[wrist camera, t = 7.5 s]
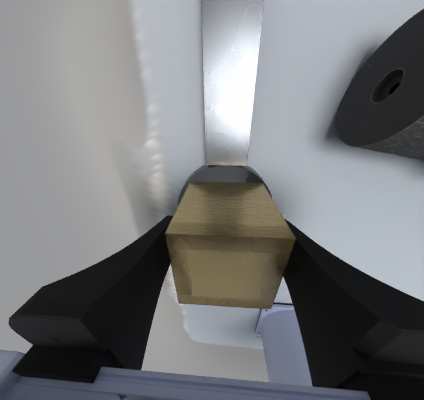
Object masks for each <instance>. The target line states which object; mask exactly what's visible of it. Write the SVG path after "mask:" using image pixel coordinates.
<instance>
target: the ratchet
mask: <svg viewBox="0 0 424 400" xmlns="http://www.w3.org/2000/svg"><path fill="white" fill-rule="evenodd" d="M263 6H264V0H202V32H203V71H204V109H205V148H206V165H204V166H202V167H201V168H199V169H198V170H196V171H195V172H194V173H193V174H192V175H191V176H190V177H189V179H188V180H187V182H186V184H185V186H184V187H183V189H182V191H181V194H180V196H179V200H178V206H179V204H180V202H181V200H182V198H183V196H184V194H185V192H186V190H187V188H188V186H189V184H190V182H191V181H195V182H241V183H263V184H264V186H265V188H266V189H267V191H268V193H269V195H270V196H271V193H270V191H269V189H268V187H267V186H266V184H265V183H264V181H263V179H262V178H261V177H260V175H259V174H258V173H257V172H256V171H254V170H253V169H252V168H250V167H248V166H247V158H248V148H249V139H250V129H251V120H252V110H253V101H254V91H255V82H256V72H257V63H258V53H259V44H260V34H261V25H262V15H263ZM271 198H272V196H271Z"/></svg>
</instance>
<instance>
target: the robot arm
mask: <svg viewBox="0 0 424 400" xmlns="http://www.w3.org/2000/svg"><path fill="white" fill-rule="evenodd" d="M172 218H173V216H166V217H165V218H164V219H163V220H161V221H160V222H159V223H158V224H157V225H155V226H154V227H153V228H152V229H150V230H149V231H148V232H147V233H145V234H144V235H143V236H141V237H140V238H138V239H137V240H136V241H134V242H133V243H132V244H130V245H129V246H127V247H125V248H124V249H122V250H121V251H119V252H117V253H115V254H113V255H112V256H110V257H108V258H106V259H104V260H102V261H101V262H99V263H97V264H95V265H92V266H90V267H88V268H86V269H84V270H82V271H80V272H77V273H75V274H73V275H71V276H68V277H66V278H63V279H61V280H58V281H56V282H53V283H51V284H48V285H46V286H43V287H42V288H41V289H40V290H39V291H37V292H36V293H35V294H34V296H32V297H31V298H30V299H29V300H28V301H27V302H26V303H25V304H24V305H23V306H22V307H21V308H19V309H18V310H17V311H16V312H15V313H14V314H13V315H12V316H11V317H10V318H9V325H10V327H11V329H13V330H14V331H15V332H16V333H17V334H19V335H20V336H22V337H23V338H24V339H26V340H27V341H28V342H30V343H31V344H33V346H32V347H31V348H30V350H29V351H28V352H27V353H26V354H24V353H21V352H17V351H7V350H0V400H424V301H422V300H419V299H417V298H415V297H412V296H410V295H408V294H406V293H404V292H401V291H399V290H397V289H395V288H393V287H391V286H389V285H387V284H385V283H383V282H381V281H379V280H377V279H375V278H373V277H371V276H369V275H367V274H365V273H364V272H362V271H360V270H358V269H356V268H354V267H353V266H351V265H349V264H348V263H346V262H344V261H343V260H341V259H339V258H338V257H336V256H335V255H333V254H331V253H330V252H328V251H327V250H326V249H324V248H323V247H321V246H320V245H318V244H317V243H316V242H314V241H313V240H312V239H310V238H309V237H308V236H306V235H305V234H304V233H302V232H301V231H300V230H299V229H297V228H296V227H295V226H294V225H292V224H291V223H290V222H289V221H287V220H286V219H284V220H285V221H286V223H287V225H288V226H289V228H290V230H291V231H292V233H293V235H294V236H295V238H296V240H295V242H294V245H293V248H292V251H291V254H290V257H289V260H288V263H287V265H286V268H285V271H284V274H283V277H284V279H285V282H286V284H287V287H288V290H289V293H290V296H291V299H292V303H293V305H280V304H273V306H272V308H271V309H262V310H261V314H260V317H259V321H258V324H257V328H256V331H255V336H257V337H262V342H263V348H264V354H265V359H266V364H267V371H268V376H269V382H270V383H269V382H258V381H248V380H237V379H226V378H215V377H205V376H195V375H184V374H173V373H162V372H152V371H141V368H142V363H143V359H144V354H145V350H146V345H147V341H148V337H149V333H150V329H151V325H152V320H153V316H154V313H155V309H156V305H157V301H158V298H159V294H160V291H161V288H162V284H163V281H164V279H165V276H166V273H167V271H168V268H169V266H170V263H171V261H170V256H169V251H168V246H167V241H166V236H165V232H166V230H167V228H168V226H169V224H170V222H171V220H172Z"/></svg>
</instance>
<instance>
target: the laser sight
mask: <svg viewBox="0 0 424 400" xmlns="http://www.w3.org/2000/svg"><path fill="white" fill-rule="evenodd" d="M336 128H337V134H338V136H339V138H340V140H341V141H342V142H343V143H345V144H346V145H349V146H353V147H359V148H365V149H370V150H374V151H380V152H384V153H391V154H396V155H399V156H404V157H409V158H416V159H422V160H424V9H423V10H421V11H420V12H418V13H417V14H416V15H414V16H413V17H412V18H410V19H409V20H408V21H406V22H405V23H404V24H403V25H402V26H401V27H399V28H398V29H397V30H396V31H395V32H394V33H393V34H392V35H391V36H389V37H388V38H387V39H386V40H385V41H384V42H383V44H382V45H381V46H380V47H379V48H378V49H377V50H376V51H375V52H374V53H373V55H372V56H371V57H370V58H369V59H368V61H367V62H366V63H365V64H364V66H363V67H362V68H361V70H360V71H359V73H358V74H357V75H356V77H355V79H354V80H353V82H352V83H351V85H350V87H349V89H348V90H347V92H346V94H345V96H344V98H343V101H342V103H341V106H340V109H339V112H338V116H337V124H336Z"/></svg>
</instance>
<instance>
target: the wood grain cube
mask: <svg viewBox="0 0 424 400" xmlns="http://www.w3.org/2000/svg"><path fill="white" fill-rule="evenodd" d="M165 236H166V241H167V246H168V251H169V256H170V261H171V267H172V272H173V277H174V282H175V287H176V292H177V297H178V302H179V303H182V304H198V305H213V306H228V307H243V308H258V309H271V308H272V306H273V303H274V300H275V297H276V294H277V291H278V288H279V286H280V283H281V280H282V277H283V274H284V271H285V268H286V265H287V263H288V260H289V257H290V254H291V251H292V248H293V245H294V242H295V240H296V238H295V236H294V235H293V233H292V231H291V230H290V228H289V226H288V225H287V223H286V221H285V220H284V218H283V216H282V215H281V213H280V211H279V210H278V208H277V206H276V205H275V203H274V201H273V200H272V198H271V196H270V195H269V193H268V191H267V189H266V188H265V186H264V184H263V183H241V182H195V181H191V182H190V184H189V186H188V188H187V190H186V192H185V194H184V196H183V198H182V200H181V202H180V204H179V206H178V208H177V210H176V212H175V214H174V216H173V218H172V220H171V222H170V224H169V226H168V228H167V230H166V232H165Z"/></svg>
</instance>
